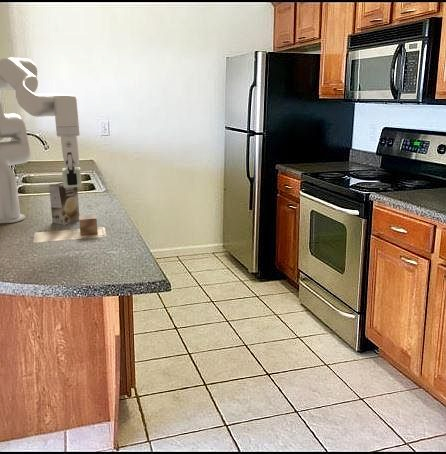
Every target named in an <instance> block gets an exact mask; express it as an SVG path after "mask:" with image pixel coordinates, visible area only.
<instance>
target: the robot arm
mask: <svg viewBox="0 0 446 454" xmlns="http://www.w3.org/2000/svg"><path fill="white" fill-rule="evenodd" d="M37 77H38V68H37V65H36V64H35V63H34V62H33V61H32V60H31V59H29V58H25V57H24V58H23V57H3V58H0V91H15V99H16V101H17V104H18V105H19V107H20V108H22V109H23V110H24V111H25V112H26V113H27V114H29V115H31V116H33V117H36V118H38V117H39V118H41V117H42V118H43V117H54V120H55V131H56V137H59V138H60V145H61V153H62V159H63V165H64V166H66V168H67V182H68V185H77V175H76V172H75V167H77V166H78V165H80V156H79V147H78V146H79V145H78V138H77V137H79V136H80V126H79V125H80V124H79V123H80V122H79V115H78V113H79V112H78V103H77V101H78V99H77V97H76V96H75V95H74V94H62V93H35V92H36V91H37V89H38V86H39V81H38V78H37ZM27 132H28V131H27V128H26V123H25V121H24V119H23V118H22V117H21V116H20V115H19V114H17V113H5V111H4V107H3V103H2V101H1V99H0V139H8V138H9V139H10V141H9V140H8V141H6V140H5V141H0V224H10V223H11V224H12V223H16V222H17V223H18V222H20V221H21V222H22V221H23V220H25V218H26V216H25V214H23V213H21V209H20V201H19V192H18V191H19V190H18V183H17V176H16V174H15V173H14V171H13V170H12V169H11V168H10V166H14V165H21V164H26V163H27V162H29V160H30V158H31V150H30V145H29V144H30V143H29V138H28V134H27Z"/></svg>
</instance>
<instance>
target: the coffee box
mask: <svg viewBox="0 0 446 454" xmlns="http://www.w3.org/2000/svg"><path fill="white" fill-rule="evenodd" d="M48 189H49V197H50V210H51V211H50V212H51V220H52V224H59V225H67V224H71V223H73V222H76V221H77V222H79V216H81V215H80V205H79V192H78V187H69V188H64V185H63V182H60V183H59V182H58V183H53V184H49V186H48Z"/></svg>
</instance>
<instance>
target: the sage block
mask: <svg viewBox="0 0 446 454" xmlns="http://www.w3.org/2000/svg"><path fill="white" fill-rule="evenodd" d="M75 172H76V175H77V185H68V182H67V167H62V169H61V174H62V183H63V185H64V188H69V187H77V188H81V187H83V186H82V185H83V183H82V172H81V167H77V166H76V167H75Z"/></svg>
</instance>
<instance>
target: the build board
mask: <svg viewBox="0 0 446 454" xmlns="http://www.w3.org/2000/svg"><path fill="white" fill-rule="evenodd" d="M97 231H98V235H86V236H81V234H80V228H77V229H65V230H64V229H63V230H52V231H51V230H49V231H41V232H39V231H38V232H34V235H33V241H32V243H33V244H36V243H48V242H56V241H57V242H59V241H71V240H78V239H79V240H81V239H93V238H94V239H95V238H105V237H106V238H107V232H106V228H105V227H104V226H103V227H102V226H100V227H97Z"/></svg>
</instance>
